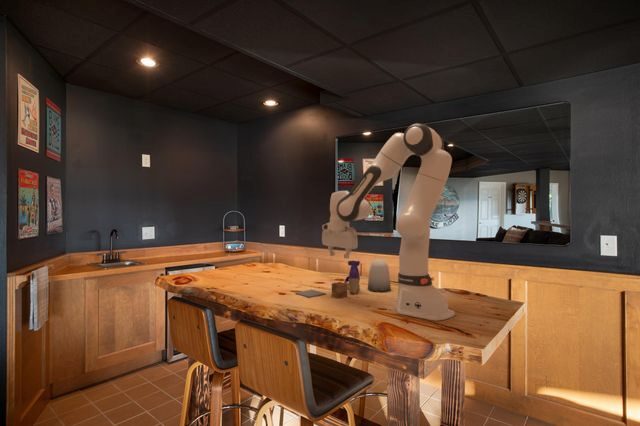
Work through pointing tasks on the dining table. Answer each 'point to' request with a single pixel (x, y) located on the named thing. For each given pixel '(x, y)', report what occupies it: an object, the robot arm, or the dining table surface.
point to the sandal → (353, 277)
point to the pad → (310, 293)
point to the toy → (379, 276)
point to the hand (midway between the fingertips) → (339, 257)
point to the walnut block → (339, 290)
